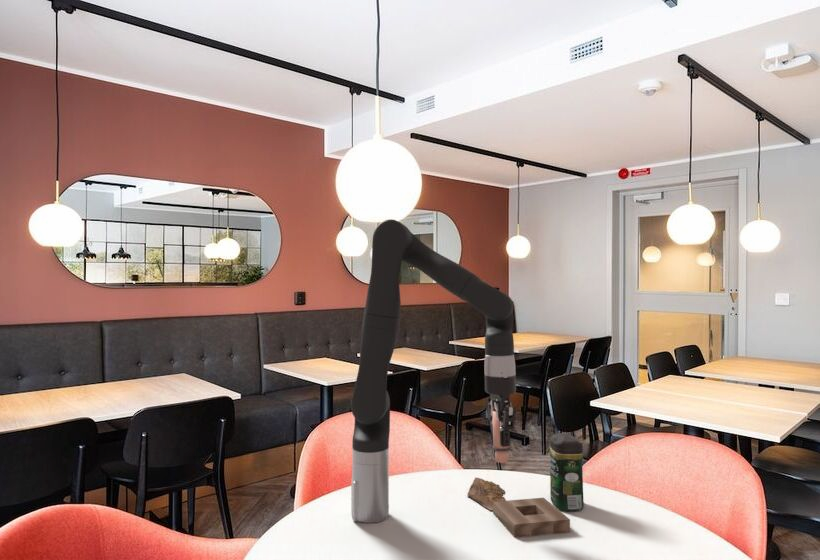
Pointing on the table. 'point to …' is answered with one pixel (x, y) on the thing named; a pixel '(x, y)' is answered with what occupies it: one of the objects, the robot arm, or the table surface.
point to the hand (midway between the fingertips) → (501, 443)
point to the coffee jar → (566, 472)
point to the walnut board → (531, 517)
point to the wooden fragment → (485, 492)
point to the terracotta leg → (500, 451)
